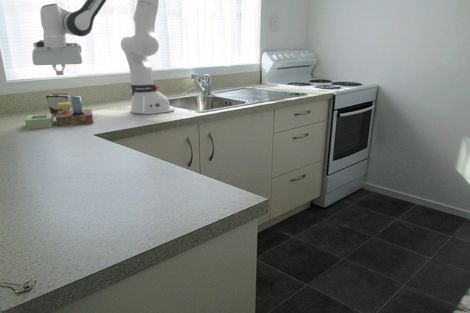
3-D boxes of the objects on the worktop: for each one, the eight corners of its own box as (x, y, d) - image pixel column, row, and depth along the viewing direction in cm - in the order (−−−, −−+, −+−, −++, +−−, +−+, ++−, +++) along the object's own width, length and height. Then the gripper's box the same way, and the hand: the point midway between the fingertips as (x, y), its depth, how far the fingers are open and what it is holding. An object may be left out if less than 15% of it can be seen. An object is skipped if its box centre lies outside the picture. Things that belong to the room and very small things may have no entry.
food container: (76, 111, 196) (74, 92, 193) (70, 114, 190) (68, 94, 187) (54, 111, 197) (51, 92, 194) (48, 113, 191) (44, 94, 188)
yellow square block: (71, 112, 178) (70, 101, 177) (71, 114, 174) (69, 103, 172) (60, 113, 177) (58, 102, 175) (59, 115, 172) (58, 104, 171)
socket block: (92, 117, 183) (91, 108, 182) (93, 123, 170) (92, 114, 169) (58, 119, 178) (57, 111, 177) (57, 126, 165) (55, 117, 164)
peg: (83, 121, 174) (80, 95, 170) (83, 123, 170) (80, 97, 167) (74, 122, 173) (71, 96, 169) (74, 124, 169) (70, 97, 165)
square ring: (53, 122, 172) (52, 113, 171) (52, 127, 163) (50, 118, 162) (29, 124, 169) (27, 115, 167) (26, 129, 160) (24, 120, 159)
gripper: (80, 42, 172) (84, 73, 176) (30, 43, 165) (36, 75, 169) (80, 43, 166) (84, 74, 171) (29, 43, 159) (34, 76, 163)
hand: (60, 74), depth 170 cm, fingers closed
